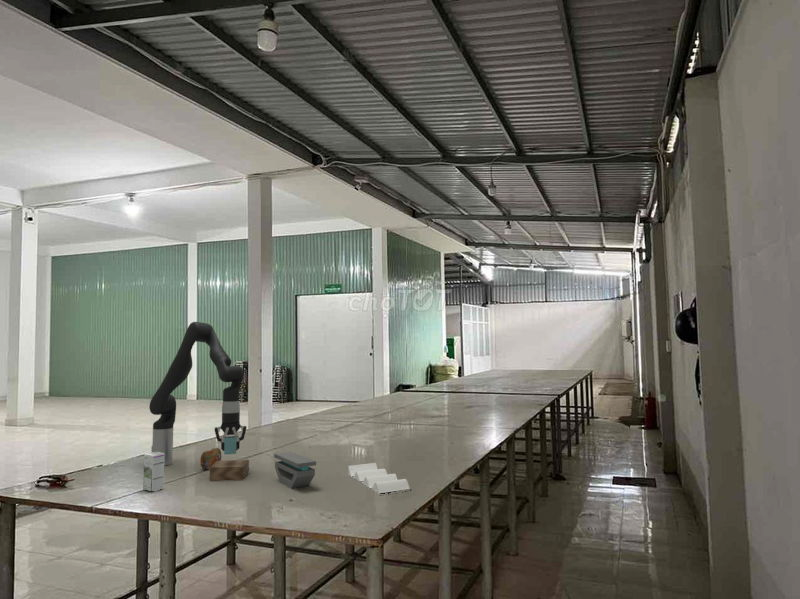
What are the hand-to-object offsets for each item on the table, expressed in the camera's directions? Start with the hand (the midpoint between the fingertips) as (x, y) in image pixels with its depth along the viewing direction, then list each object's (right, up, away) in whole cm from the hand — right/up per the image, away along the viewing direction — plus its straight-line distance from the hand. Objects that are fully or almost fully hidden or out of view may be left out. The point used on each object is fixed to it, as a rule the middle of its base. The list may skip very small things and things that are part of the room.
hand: (230, 450), depth 246 cm
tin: (-15, -13, +18) cm, 26 cm away
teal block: (0, -1, 0) cm, 1 cm away
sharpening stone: (+31, -10, -14) cm, 35 cm away
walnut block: (0, -12, -1) cm, 12 cm away
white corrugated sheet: (+66, -11, -14) cm, 68 cm away
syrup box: (-24, -10, -22) cm, 34 cm away
